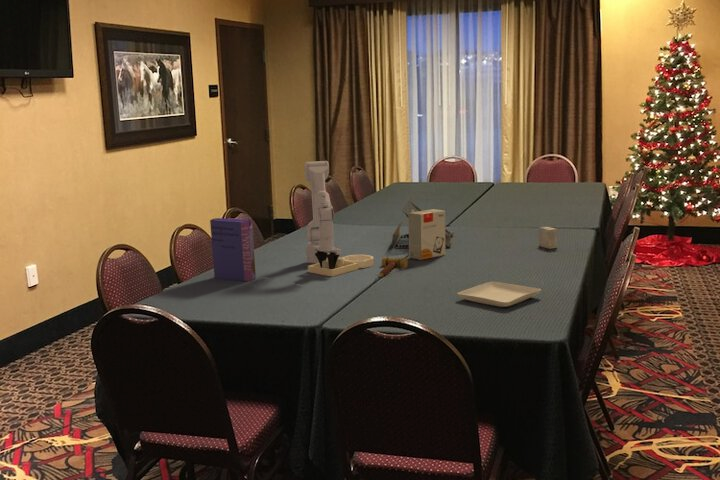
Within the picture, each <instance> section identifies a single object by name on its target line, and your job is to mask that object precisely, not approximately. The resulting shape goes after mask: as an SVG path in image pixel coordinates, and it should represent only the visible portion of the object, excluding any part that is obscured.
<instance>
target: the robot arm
mask: <svg viewBox="0 0 720 480" xmlns="http://www.w3.org/2000/svg"><path fill="white" fill-rule="evenodd" d="M303 168H304V169H303V170H304V178H305V181H307V182H309V185H310V188H311V190H310V191H311V203H312V205H311V206H312V217H313V218H312V220H311V221H310V222H309V223H308V224H307V226H306V227H307V229H306V235H307V236H306V237H307V241H308V242H307V245H306V247H305V249H306V251H305V253H306V260H305V263H306V264H307V263H311V264H317V263H320V267H321V268H322V261H324V260H328V262H329V269H335V266H336V262H337V259H338V257H340V255H342V249H341V248H337V247H335V241H334V224H333V222H334V220H335V211H334V207H333V206H332V203H331V198H330V193H328V192H327V190H326V180H328V177H329V174H330V165H329V161H327V160H320V161H305V162H304V167H303Z"/></svg>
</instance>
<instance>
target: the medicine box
mask: <svg viewBox="0 0 720 480" xmlns="http://www.w3.org/2000/svg"><path fill="white" fill-rule="evenodd" d="M538 247H541V248H545V249H550V250H552V249H553V250H554V249H557V248H558V229H557V228H553V227H550V226H542V227H539V228H538Z"/></svg>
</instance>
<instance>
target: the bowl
mask: <svg viewBox="0 0 720 480" xmlns="http://www.w3.org/2000/svg"><path fill="white" fill-rule="evenodd" d="M342 258H343V261H345V262H354V263H358V269H366V268H369V267H373V266H374V265H375V264H374V256H373V255H368V254H350V255H345V256H342Z"/></svg>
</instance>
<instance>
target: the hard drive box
mask: <svg viewBox="0 0 720 480" xmlns="http://www.w3.org/2000/svg"><path fill="white" fill-rule="evenodd" d="M410 212H411V211H410ZM410 212H408V214H409V218H408V234H409V238H408V246H409V249H408V257H409V258H410V259H414V260H419V261H423V260H428V259H430V258H431V259H432V258H435V257H436V258H437V257H441V256H445V255H446V249H445V248H446V247H445V243H446V242H445V240H446V238H445V233H446V232H445V229H446V210H444V209H443V210H442V209H434V208H432V209H426V210H422V211H418V212H416V211H415V212H411V213H410Z"/></svg>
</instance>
